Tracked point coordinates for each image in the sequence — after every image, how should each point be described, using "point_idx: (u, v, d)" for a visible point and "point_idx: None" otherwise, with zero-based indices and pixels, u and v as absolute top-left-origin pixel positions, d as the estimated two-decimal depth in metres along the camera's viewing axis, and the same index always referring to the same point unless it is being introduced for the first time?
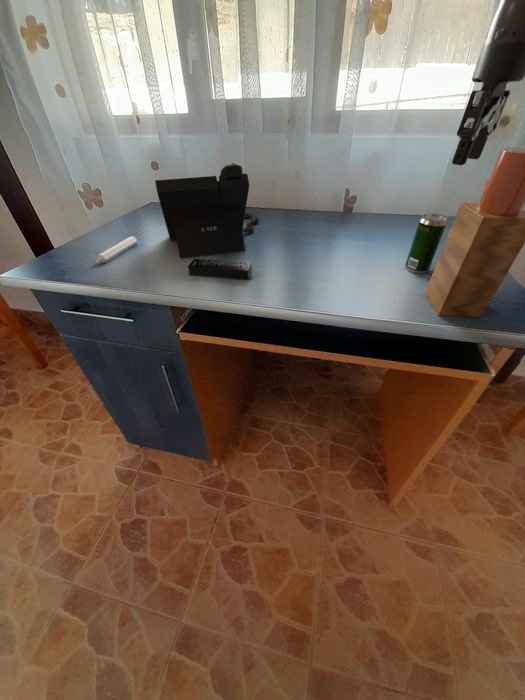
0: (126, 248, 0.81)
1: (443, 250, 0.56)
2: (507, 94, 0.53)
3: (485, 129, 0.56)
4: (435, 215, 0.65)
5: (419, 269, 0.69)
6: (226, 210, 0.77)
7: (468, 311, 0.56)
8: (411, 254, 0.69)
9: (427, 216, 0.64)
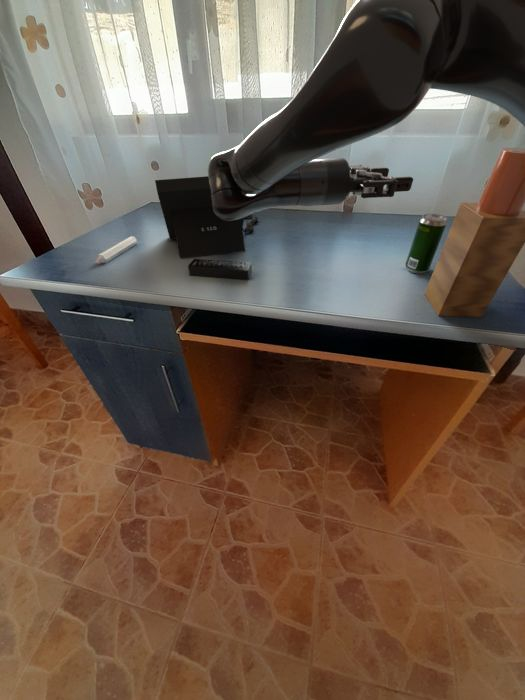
0: (126, 248, 0.81)
1: (443, 250, 0.56)
2: None
3: None
4: (435, 215, 0.65)
5: (419, 269, 0.69)
6: None
7: (468, 311, 0.56)
8: (411, 254, 0.69)
9: (427, 216, 0.64)
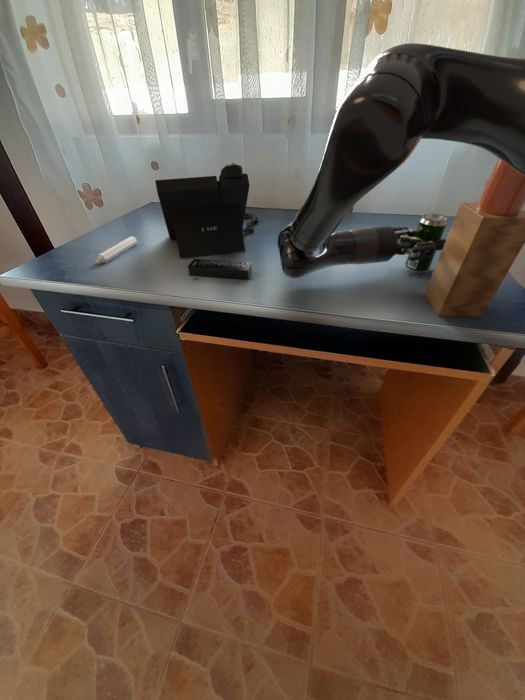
0: (126, 248, 0.81)
1: (443, 250, 0.56)
2: None
3: (410, 235, 0.69)
4: (435, 215, 0.65)
5: (419, 269, 0.69)
6: (226, 210, 0.77)
7: (468, 311, 0.56)
8: None
9: (427, 216, 0.64)
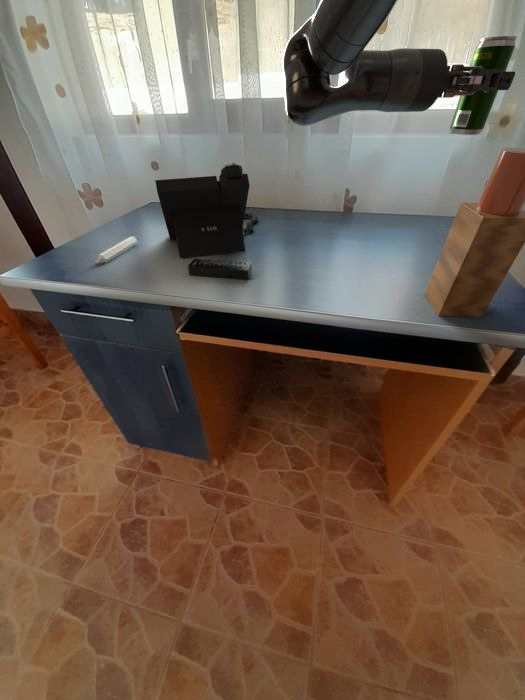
0: (126, 248, 0.81)
1: (443, 250, 0.56)
2: None
3: None
4: None
5: (471, 126, 0.51)
6: (226, 210, 0.77)
7: (468, 311, 0.56)
8: (460, 105, 0.51)
9: None
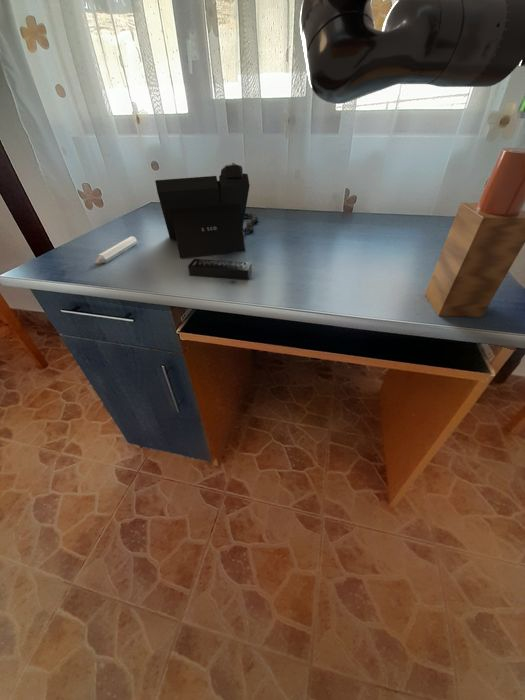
0: (126, 248, 0.81)
1: (443, 250, 0.56)
2: None
3: None
4: None
5: None
6: (226, 210, 0.77)
7: (468, 311, 0.56)
8: None
9: None
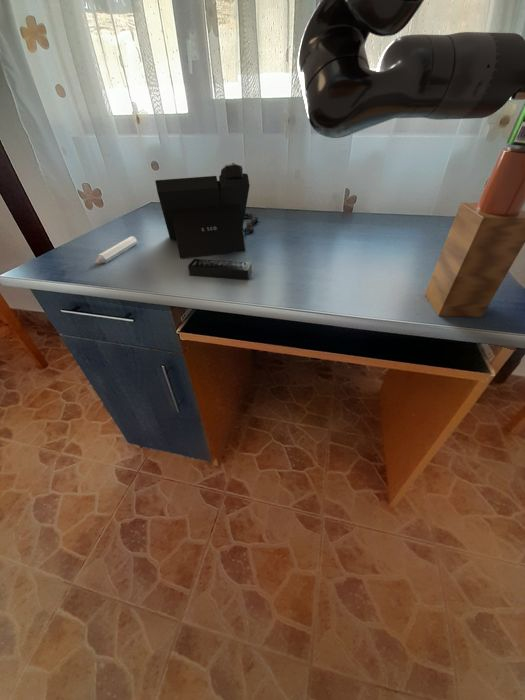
0: (126, 248, 0.81)
1: (443, 250, 0.56)
2: None
3: None
4: None
5: None
6: (226, 210, 0.77)
7: (468, 311, 0.56)
8: None
9: None
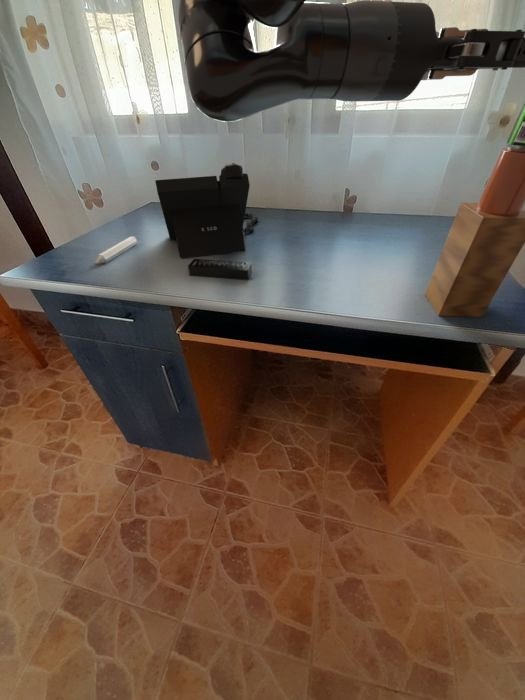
0: (126, 248, 0.81)
1: (443, 250, 0.56)
2: None
3: None
4: None
5: None
6: (226, 210, 0.77)
7: (468, 311, 0.56)
8: None
9: None
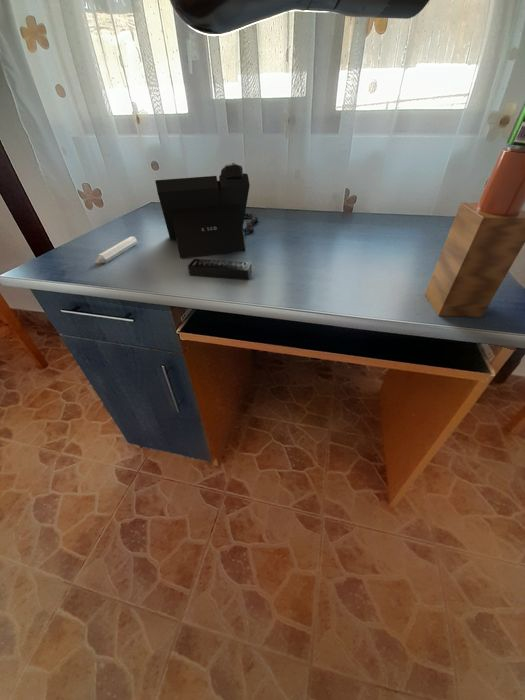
0: (126, 248, 0.81)
1: (443, 250, 0.56)
2: None
3: None
4: None
5: None
6: (226, 210, 0.77)
7: (468, 311, 0.56)
8: None
9: None
